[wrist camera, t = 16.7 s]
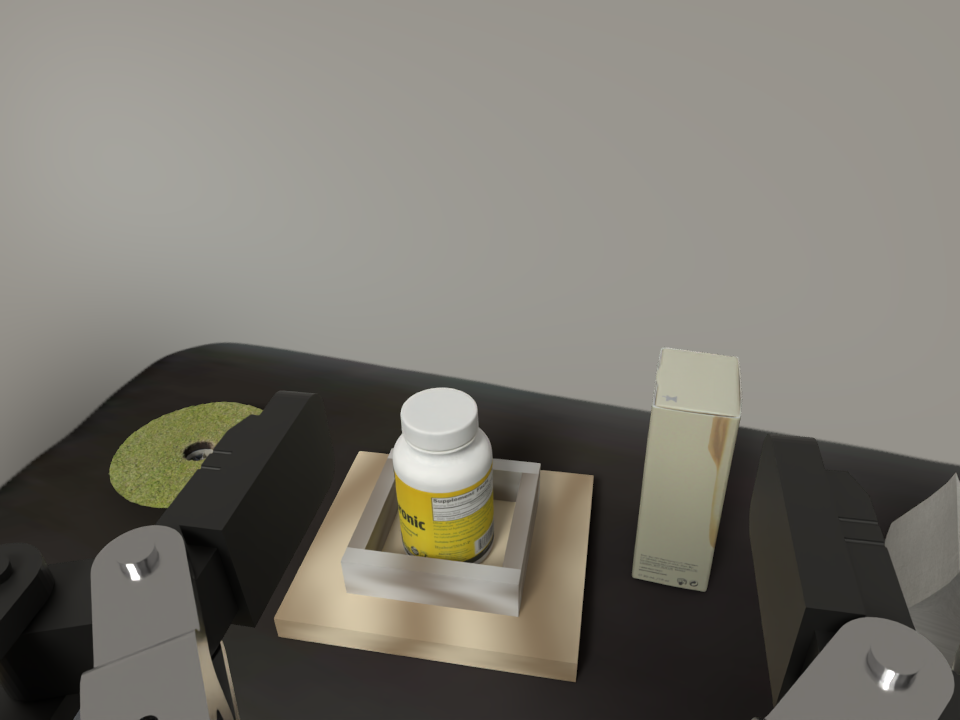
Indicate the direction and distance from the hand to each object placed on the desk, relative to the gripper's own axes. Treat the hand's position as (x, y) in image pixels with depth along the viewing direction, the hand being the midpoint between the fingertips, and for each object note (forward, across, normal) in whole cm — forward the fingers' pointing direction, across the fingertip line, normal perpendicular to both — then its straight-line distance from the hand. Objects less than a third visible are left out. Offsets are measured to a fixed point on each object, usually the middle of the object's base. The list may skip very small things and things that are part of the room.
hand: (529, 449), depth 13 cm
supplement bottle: (+18, +8, +24) cm, 31 cm away
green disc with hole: (+24, +27, +25) cm, 44 cm away
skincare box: (+22, -5, +26) cm, 34 cm away
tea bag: (+16, -16, +26) cm, 35 cm away
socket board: (+19, +8, +25) cm, 32 cm away
